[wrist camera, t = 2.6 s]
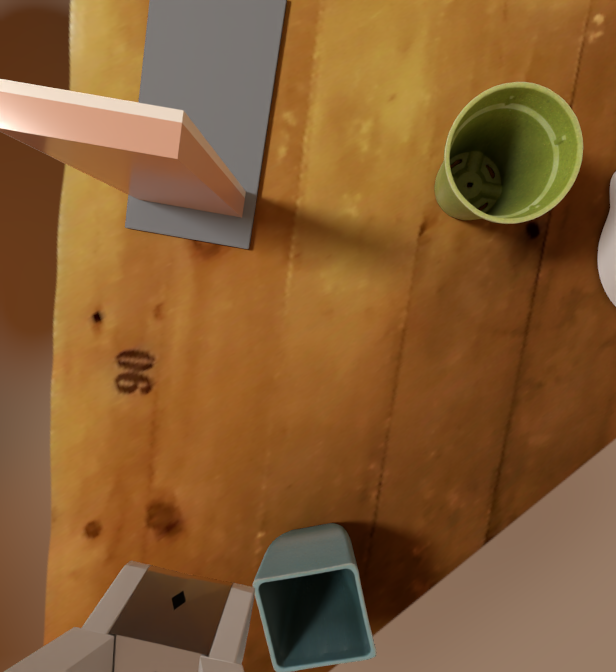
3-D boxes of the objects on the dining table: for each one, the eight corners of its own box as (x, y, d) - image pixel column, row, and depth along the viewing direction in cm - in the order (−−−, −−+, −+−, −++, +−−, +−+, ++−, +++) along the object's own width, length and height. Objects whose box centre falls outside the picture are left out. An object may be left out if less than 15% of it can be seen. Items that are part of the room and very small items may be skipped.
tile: (242, 217, 35) (177, 159, 19) (138, 199, 35) (-10, 126, 20) (245, 191, 35) (183, 110, 19) (141, 173, 35) (-7, 77, 19)
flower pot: (266, 516, 39) (250, 582, 31) (348, 500, 39) (356, 563, 30) (285, 590, 40) (274, 675, 32) (365, 576, 40) (378, 659, 31)
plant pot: (451, 259, 36) (493, 249, 27) (395, 175, 35) (419, 138, 26) (537, 198, 35) (609, 169, 26) (481, 111, 34) (536, 51, 25)
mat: (249, 249, 36) (248, 249, 36) (127, 228, 36) (125, 227, 36) (286, 0, 33) (286, -4, 33) (154, -22, 33) (152, -26, 33)
